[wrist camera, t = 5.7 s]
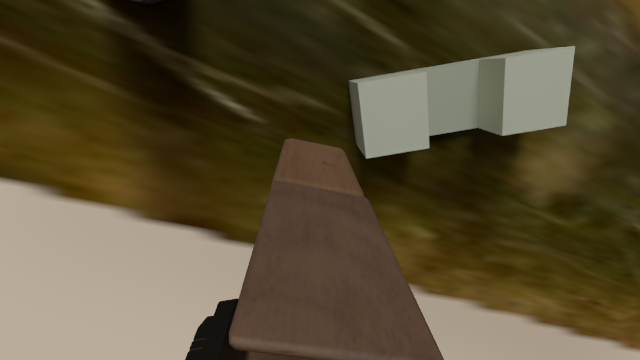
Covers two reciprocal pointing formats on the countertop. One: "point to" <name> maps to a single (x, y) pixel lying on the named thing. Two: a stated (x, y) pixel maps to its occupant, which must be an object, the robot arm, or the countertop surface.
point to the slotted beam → (462, 99)
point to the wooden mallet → (325, 272)
